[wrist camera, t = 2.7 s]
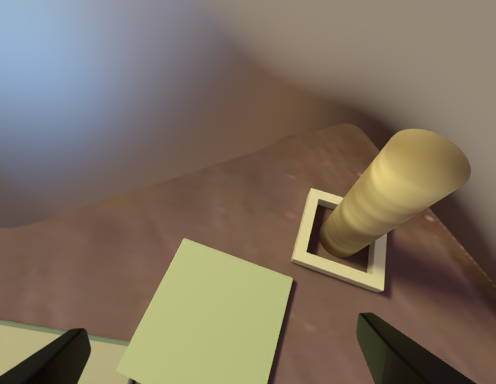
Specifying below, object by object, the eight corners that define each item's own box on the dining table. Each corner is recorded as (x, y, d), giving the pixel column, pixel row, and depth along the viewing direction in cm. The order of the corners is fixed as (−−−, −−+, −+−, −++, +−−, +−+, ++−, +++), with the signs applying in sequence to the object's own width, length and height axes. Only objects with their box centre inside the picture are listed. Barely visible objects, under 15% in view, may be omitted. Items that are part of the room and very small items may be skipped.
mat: (253, 436, 16) (253, 439, 15) (118, 369, 18) (115, 370, 17) (292, 279, 21) (293, 278, 21) (185, 239, 23) (184, 238, 22)
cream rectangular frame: (376, 292, 21) (383, 290, 20) (290, 261, 22) (293, 258, 21) (381, 216, 24) (388, 211, 23) (308, 193, 26) (311, 188, 25)
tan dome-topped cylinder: (356, 263, 22) (475, 200, 11) (315, 249, 23) (386, 175, 11) (360, 226, 24) (466, 139, 13) (322, 214, 24) (389, 121, 13)
